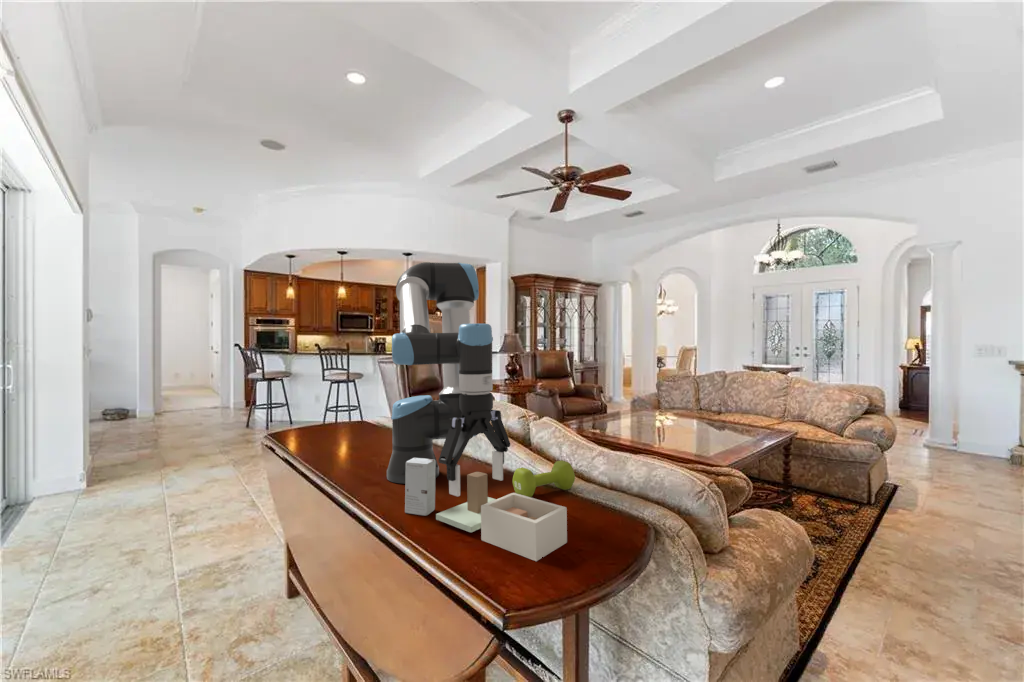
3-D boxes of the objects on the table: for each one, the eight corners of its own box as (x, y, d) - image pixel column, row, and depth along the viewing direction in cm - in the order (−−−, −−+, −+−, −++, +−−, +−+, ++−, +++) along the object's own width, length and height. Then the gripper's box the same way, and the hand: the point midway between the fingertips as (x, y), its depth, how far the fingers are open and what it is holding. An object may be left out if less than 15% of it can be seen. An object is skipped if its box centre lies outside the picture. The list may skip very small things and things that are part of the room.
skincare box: (404, 513, 109) (403, 461, 108) (413, 506, 113) (413, 457, 113) (427, 516, 107) (427, 463, 107) (436, 509, 111) (436, 458, 111)
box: (481, 540, 94) (480, 505, 94) (513, 524, 101) (513, 492, 101) (536, 561, 85) (535, 523, 85) (567, 542, 92) (566, 507, 92)
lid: (470, 538, 95) (470, 487, 95) (436, 524, 102) (435, 477, 102) (518, 516, 106) (517, 471, 106) (483, 505, 114) (483, 462, 114)
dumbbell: (560, 483, 130) (560, 457, 130) (578, 491, 123) (578, 464, 123) (509, 493, 122) (509, 466, 122) (525, 503, 115) (525, 474, 115)
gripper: (444, 400, 92) (446, 506, 93) (524, 388, 111) (525, 476, 111) (420, 397, 97) (422, 498, 97) (501, 386, 116) (502, 470, 116)
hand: (477, 486), depth 104 cm, fingers open, 13 cm apart
